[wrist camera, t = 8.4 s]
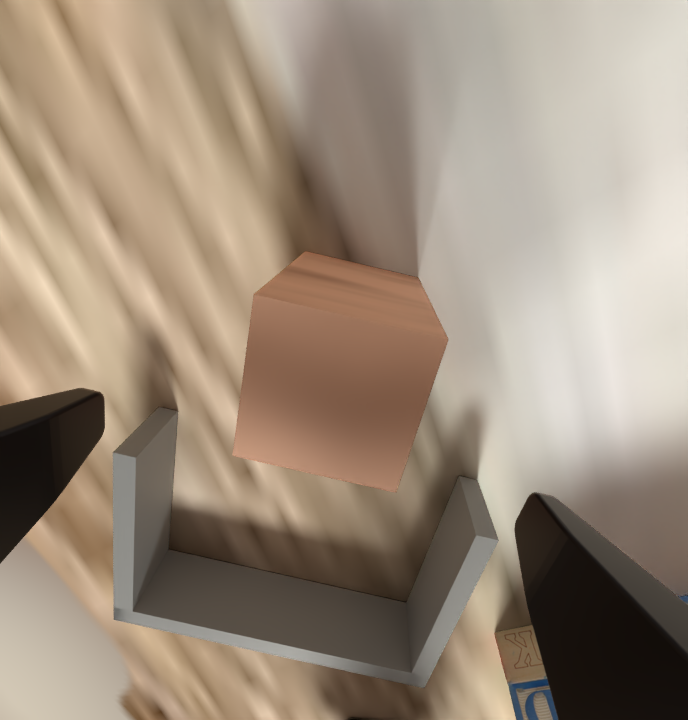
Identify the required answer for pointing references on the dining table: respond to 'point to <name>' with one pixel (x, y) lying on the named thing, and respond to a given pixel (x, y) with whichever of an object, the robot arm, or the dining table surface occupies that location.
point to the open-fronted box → (285, 580)
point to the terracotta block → (338, 371)
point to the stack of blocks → (527, 673)
